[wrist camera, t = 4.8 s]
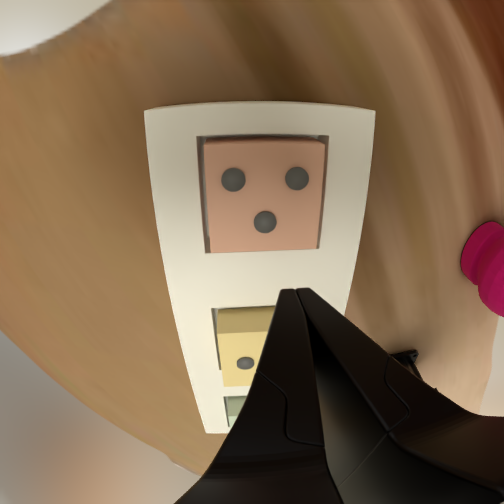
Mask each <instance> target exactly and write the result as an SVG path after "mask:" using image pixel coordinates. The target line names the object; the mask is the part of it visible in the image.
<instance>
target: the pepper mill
mask: <svg viewBox="0 0 504 504" xmlns="http://www.w3.org/2000/svg"><path fill="white" fill-rule="evenodd" d="M461 268H462V271H463V273H464V274H465V275H466V277H467V278H468V279H469V280H470V281H471V282H472V283H473V284H475V285H478V292H479V296H480V298H481V300H482V302H483V303H484V304H485V305H486V306H487V307H488V308H489V309H490V310H491V311H493V312H494V313H496V314H497V315H500V316H502V317H504V228H503V227H502V226H501V225H499V224H498V223H496V222H487V223H485V224H483V225H481V226H480V227H479V228H478V229H476V230H475V231H474V233H473V234H472V235H471V236H470V238H469V240H468V241H467V243H466V245H465V247H464V250H463V253H462V257H461Z"/></svg>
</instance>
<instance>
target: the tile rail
mask: <svg viewBox="0 0 504 504" xmlns="http://www.w3.org/2000/svg"><path fill="white" fill-rule="evenodd" d="M375 112H376V111H374V110H369V109H365V108H360V107H355V106H346V105H336V104H324V103H309V102H287V101H231V102H209V103H194V104H182V105H172V106H163V107H156V108H152V109H149V110H145V111H144V119H145V131H146V142H147V152H148V162H149V171H150V179H151V187H152V195H153V202H154V209H155V216H156V222H157V229H158V235H159V241H160V247H161V253H162V258H163V264H164V269H165V274H166V279H167V284H168V289H169V294H170V299H171V304H172V308H173V313H174V317H175V322H176V326H177V330H178V334H179V339H180V343H181V347H182V351H183V355H184V358H185V362H186V366H187V370H188V374H189V377H190V381H191V384H192V388H193V392H194V395H195V398H196V402H197V405H198V409H199V412H200V415H201V418H202V422H203V425H204V428H205V431H206V433H229V431H230V424H229V418H228V396H247V394H248V392H249V389H250V386H234V387H224V384H223V377H222V369H221V362H220V354H219V346H218V338H217V312H218V309H242V308H262V307H275V306H276V302H277V299H278V295H279V292H280V290H281V289H288V288H293V289H296V288H304V287H309V288H311V289H312V290H313V291H315V292H316V293H317V294H318V295H319V296H321V297H322V298H323V299H324V300H325V301H327V302H328V303H329V304H330V305H331V306H333V307H334V308H335V309H336V310H337V311H338V312H340V313H341V314H342V315H343V316H344V313H345V309H346V305H347V301H348V296H349V292H350V287H351V283H352V278H353V273H354V268H355V263H356V258H357V253H358V248H359V242H360V236H361V231H362V225H363V219H364V212H365V206H366V199H367V192H368V184H369V176H370V168H371V159H372V149H373V138H374V126H375ZM262 136H279V137H314V138H315V139H317V140H319V141H320V142H322V143H323V144H325V156H324V171H323V184H322V196H321V207H320V218H319V228H318V238H317V247H316V249H296V250H271V251H247V252H222V253H211V249H210V237H209V225H208V211H207V197H206V182H205V165H204V147H203V145H204V143H205V141H206V139H207V138H222V137H262Z"/></svg>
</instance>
